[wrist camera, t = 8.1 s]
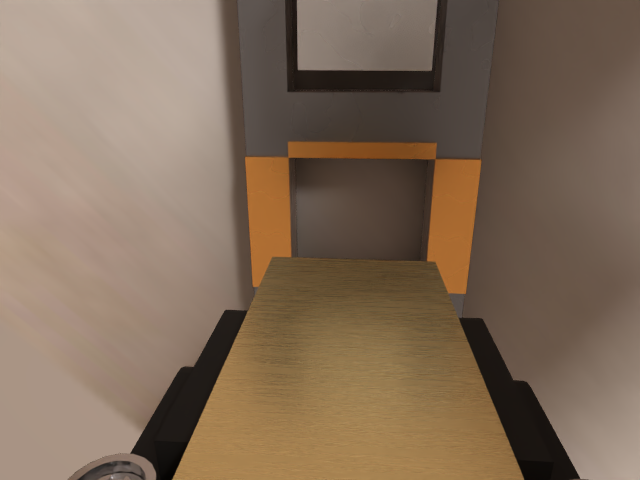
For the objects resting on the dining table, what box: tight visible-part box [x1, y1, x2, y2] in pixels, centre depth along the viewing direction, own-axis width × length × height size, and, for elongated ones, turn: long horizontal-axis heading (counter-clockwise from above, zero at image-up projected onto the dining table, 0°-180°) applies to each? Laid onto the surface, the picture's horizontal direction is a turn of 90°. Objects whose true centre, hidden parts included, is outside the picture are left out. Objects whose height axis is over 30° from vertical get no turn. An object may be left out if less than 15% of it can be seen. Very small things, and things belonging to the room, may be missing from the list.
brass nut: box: [172, 257, 524, 480], centre depth 9 cm, size 4×4×8 cm
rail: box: [237, 0, 499, 318], centre depth 20 cm, size 9×25×2 cm, turn 0°
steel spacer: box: [297, 0, 437, 71], centre depth 16 cm, size 4×4×5 cm
